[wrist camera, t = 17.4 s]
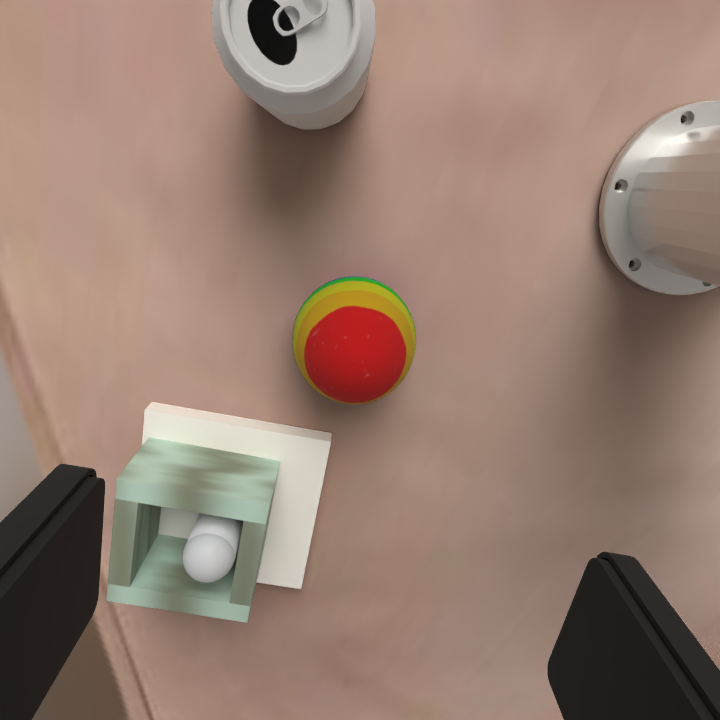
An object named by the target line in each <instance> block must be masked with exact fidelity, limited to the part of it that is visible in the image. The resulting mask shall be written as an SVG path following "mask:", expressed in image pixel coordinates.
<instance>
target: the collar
mask: <svg viewBox="0 0 720 720" xmlns="http://www.w3.org/2000/svg"><path fill="white" fill-rule="evenodd" d="M279 465H280V461H278V460H273V459H267V458H262V457H256V456H251V455H245V454H240V453H234V452H229V451H223V450H217V449H212V448H206V447H201V446H195V445H190V444H184V443H179V442H173V441H168V440H162V439H157V438H151V437H149V438H148V439H147V440H146V442H145V443H144V444H143V446H142V447H141V448H140V449H139V451H138V452H137V453H136V455H135V456H134V457H133V459H132V460H131V461H130V462H129V464H128V465H127V466H126V468H125V469H124V470H123V471H122V473H121V474H120V475H119V477H118V478H117V481H116V493H115V505H114V516H113V528H112V540H111V552H110V563H109V575H108V587H107V599H106V601H111V602H117V603H123V604H130V605H136V606H143V607H149V608H156V609H162V610H168V611H175V612H181V613H188V614H194V615H201V616H207V617H213V618H220V619H226V620H233V621H239V622H246V623H247V621H248V617H249V613H250V609H251V604H252V600H253V596H254V591H255V587H256V583H257V578H258V574H259V570H260V565H261V560H262V554H263V549H264V544H265V539H266V534H267V528H268V523H269V518H270V513H271V507H272V502H273V497H274V492H275V486H276V481H277V476H278V471H279ZM161 507H167V508H173V509H179V510H184V511H190V512H196V513H202V514H208V515H214V516H219V517H225V518H231V519H237V520H243V527H242V533H241V539H240V544H239V547H238V551H237V554H236V557H235V561H234V563H233V566H232V568H231V569H230V571H229V572H228V573H227V574H226V575H225V576H224V577H222V578H221V579H219V580H217V581H214V582H209V583H205V582H199V581H197V580H195V579H193V578H192V577H190V576H189V574H188V573H187V572H186V570H185V568H184V565H183V551H184V548H185V545H186V543H187V541H188V539H186V538H180V537H174V536H168V535H162V534H158V531H159V523H160V514H161Z"/></svg>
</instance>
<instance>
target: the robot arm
mask: <svg viewBox="0 0 720 720" xmlns="http://www.w3.org/2000/svg"><path fill="white" fill-rule="evenodd" d="M681 116H682V118H683V121H682V123H681ZM616 182H617V183H618V188H617V189H616V190H615V184H616ZM599 227H600V232H601V237H602V242H603V244H604V246H605V249H606V251H607V254H608V256H609V257H610V259H611V260H612V262H613V263H614V265H615V266H616V267H617V269H618V270H619V271H620V272H622V273H623V274H624V275H625V276H626V277H627V278H628V279H630V280H631V281H633V282H635V283H637V284H638V285H640V286H642V287H644V288H647V289H650V290H652V291H655V292H659V293H664V294H669V295H690V294H696V293H701V292H706V291H709V290H711V289H714V288H717V287H720V100H712V101H702V102H696V103H692V104H687V105H683V106H680V107H678V108H675V109H673V110H670V111H668V112H665V113H663V114H662V115H660V116H658V117H657V118H655V119H654V120H652V121H650V122H649V123H647V124H646V125H645V126H644V127H643V128H642V129H640V130H639V131H638V132H637V133H636V134H635V135H634V136H633V137H632V138H631V139H630V140H629V141H628V143H627V144H626V145H625V146H624V147H623V149H622V150H621V151H620V152H619V154H618V156H617V157H616V159H615V161H614V163H613V164H612V166H611V168H610V170H609V172H608V175H607V177H606V180H605V183H604V186H603V188H602V194H601V199H600V204H599ZM630 261H632V264H631V265H630V266H629V263H630ZM104 496H105V481H104V479H102V478H97V476H96V471H95V470H94V469H92V468H85V467H79V466H73V465H67V464H60V465H59V466H57V467H56V468H55V469H54V470H53V471H52V472H51V473H50V474H49V475H48V476H47V477H46V478H45V479H44V480H43V481H42V482H41V483H40V484H39V485H38V486H37V487H36V488H35V489H34V490H33V491H32V492H31V493H30V494H29V495H28V496H27V497H26V498H25V499H24V500H23V501H22V502H21V503H20V504H19V505H18V506H17V507H16V508H15V509H14V510H13V511H12V512H11V513H10V514H9V515H8V516H7V517H5V518H4V520H2V522H0V720H32V718H33V716H34V715H35V713H36V711H37V709H38V708H39V706H40V704H41V702H42V701H43V699H44V698H45V696H46V694H47V692H48V690H49V689H50V687H51V686H52V684H53V682H54V680H55V679H56V677H57V675H58V673H59V672H60V670H61V668H62V667H63V665H64V663H65V662H66V660H67V658H68V657H69V655H70V653H71V651H72V650H73V648H74V646H75V645H76V643H77V641H78V640H79V638H80V636H81V634H82V633H83V631H84V629H85V627H86V626H87V624H88V623H89V621H90V619H91V617H92V615H93V613H94V611H95V608H96V605H97V601H98V595H99V579H100V562H101V546H102V529H103V512H104ZM548 679H549V682H550V685H551V688H552V690H553V693H554V695H555V698H556V700H557V703H558V706H559V708H560V711H561V713H562V716H563V718H564V720H720V670H719V669H718V668H717V666H716V665H715V664H714V662H713V661H712V660H711V658H710V657H709V656H708V654H707V653H706V652H705V650H704V649H703V648H702V646H701V645H700V643H699V642H698V641H697V639H696V638H695V637H694V635H693V634H692V633H691V631H690V630H689V629H688V627H687V626H686V625H685V623H684V622H683V621H682V619H681V618H680V617H679V615H678V614H677V613H676V611H675V610H674V609H673V607H672V606H671V605H670V603H669V602H668V601H667V599H666V598H665V597H664V595H663V594H662V593H661V591H660V590H659V589H658V587H657V586H656V585H655V583H654V582H653V581H652V579H651V578H650V577H649V575H648V574H647V573H646V571H645V570H644V569H643V567H642V566H641V565H640V563H639V562H638V561H637V560H636V559H635V558H634V557H631V556H627V555H621V554H615V553H608V552H602V553H600V554H599V555H598V556H597V558H592V559H591V560H589V562H588V564H587V566H586V569H585V571H584V574H583V576H582V579H581V581H580V584H579V586H578V589H577V591H576V594H575V596H574V599H573V601H572V604H571V606H570V609H569V611H568V614H567V616H566V619H565V621H564V624H563V626H562V629H561V631H560V634H559V636H558V639H557V641H556V644H555V646H554V649H553V651H552V654H551V656H550V659H549V662H548Z"/></svg>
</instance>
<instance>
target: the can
mask: <svg viewBox="0 0 720 720" xmlns="http://www.w3.org/2000/svg"><path fill="white" fill-rule="evenodd" d="M212 22H213V31H214V40H215V44H216V47H217V49H218V52H219V54H220V57H221V59H222V62H223V65H224V67H225V69H226V71H227V72H228V73H229V75H230V76H231V77H232V78H233V80H234V81H235V82H236V84H237V85H238V86H239V88H240V89H241V90H242V91H243V92H244V93H245V94H247V95H248V96H249V97H250V98H252V99H253V100H254V101H255V102H257V103H258V104H259V105H261V106H262V107H263V108H264V109H266V110H267V111H268V112H269V113H271V114H272V115H274V116H275V117H276V118H278V119H279V120H281V121H282V122H283V123H285V124H287V125H290V126H293V127H296V128H300V129H303V130H309V129H323V128H326V127H328V126H331V125H333V124H336V123H338V122H340V121H341V120H342V119H343V118H345V117H346V116H347V115H348V114H349V113H350V112H352V111H353V110H354V108H355V106H356V105H357V103H358V101H359V100H360V98H361V97H362V95H363V93H364V90H365V86H366V82H367V78H368V74H369V69H370V64H371V58H372V53H373V47H374V41H375V7H374V4H373V0H214V2H213V8H212Z"/></svg>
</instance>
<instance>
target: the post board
mask: <svg viewBox="0 0 720 720" xmlns="http://www.w3.org/2000/svg"><path fill="white" fill-rule="evenodd" d="M149 437H151V438H157V439H162V440H168V441H173V442H179V443H184V444H190V445H195V446H201V447H206V448H212V449H217V450H223V451H229V452H234V453H240V454H245V455H251V456H256V457H262V458H267V459H273V460H278V461H280V465H279V471H278V476H277V481H276V486H275V492H274V497H273V502H272V507H271V513H270V518H269V523H268V528H267V534H266V539H265V544H264V549H263V554H262V560H261V565H260V570H259V574H258V578H257V583H264V584H271V585H277V586H284V587H291V588H297V589H301V587H302V582H303V577H304V572H305V567H306V562H307V558H308V553H309V548H310V543H311V538H312V533H313V528H314V523H315V518H316V513H317V509H318V504H319V499H320V494H321V489H322V484H323V479H324V474H325V469H326V464H327V460H328V455H329V450H330V445H331V437H332V433H329V432H323V431H317V430H311V429H306V428H300V427H294V426H288V425H283V424H277V423H271V422H265V421H260V420H254V419H248V418H242V417H236V416H231V415H225V414H219V413H213V412H208V411H202V410H196V409H190V408H185V407H179V406H173V405H167V404H162V403H156V402H151V404H150V405H149V406H148V407H147V408H146V409H145V415H144V428H143V440H142V446H143V444H144V443H145V442H146V440H147V439H148V438H149ZM242 527H243V520H237V519H231V518H225V517H219V516H214V515H208V514H202V513H196V512H190V511H184V510H179V509H173V508H167V507H161V514H160V523H159V531H158V534H162V535H168V536H174V537H180V538H186V539H188V541H187V543H186V545H185V548H184V551H183V565H184V568H185V570H186V572H187V573H188V574H189V576H190V577H192V578H193V579H195V580H197V581H199V582H205V583H209V582H214V581H217V580H219V579H221V578H222V577H224V576H225V575H226V574H227V573H228V572H229V571H230V569H231V568H232V566H233V563H234V561H235V557H236V554H237V551H238V547H239V544H240V539H241V533H242Z"/></svg>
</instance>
